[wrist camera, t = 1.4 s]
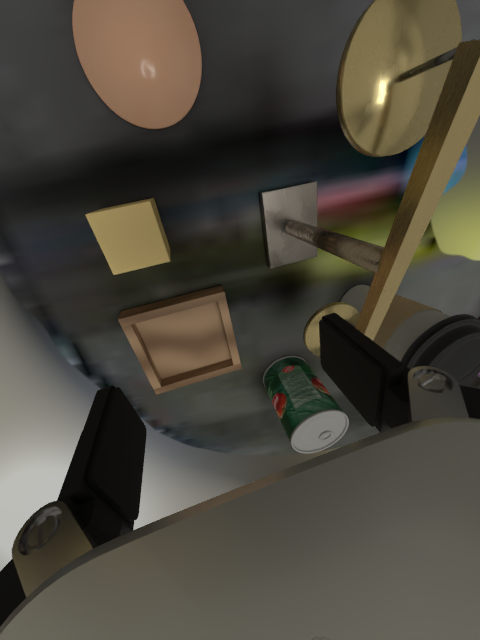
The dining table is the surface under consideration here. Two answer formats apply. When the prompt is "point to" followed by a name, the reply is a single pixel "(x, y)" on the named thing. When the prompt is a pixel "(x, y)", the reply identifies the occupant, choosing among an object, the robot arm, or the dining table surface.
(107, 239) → the ochre block
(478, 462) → the robot arm
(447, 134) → the balance
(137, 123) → the terracotta dish
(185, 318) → the walnut tray
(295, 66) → the dining table surface
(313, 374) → the canned tomato
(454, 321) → the coffee cup
